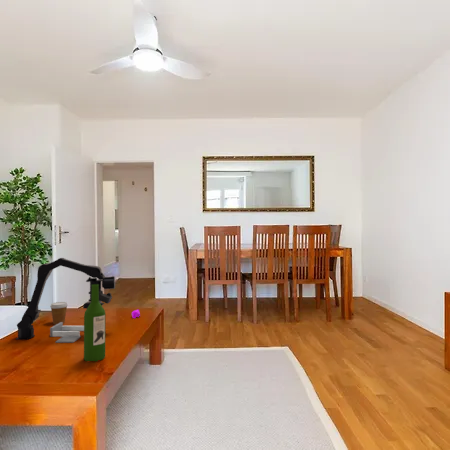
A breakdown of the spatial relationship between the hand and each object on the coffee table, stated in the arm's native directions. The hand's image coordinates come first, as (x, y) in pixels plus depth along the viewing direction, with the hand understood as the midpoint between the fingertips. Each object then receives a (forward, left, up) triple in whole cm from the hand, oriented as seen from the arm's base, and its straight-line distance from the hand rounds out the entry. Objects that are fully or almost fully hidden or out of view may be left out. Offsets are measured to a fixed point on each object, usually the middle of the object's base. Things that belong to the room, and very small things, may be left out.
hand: (95, 317), depth 188 cm
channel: (-14, 0, -8) cm, 16 cm away
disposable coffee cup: (-30, +20, -9) cm, 37 cm away
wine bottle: (+13, -36, -9) cm, 39 cm away
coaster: (-10, -11, -8) cm, 17 cm away
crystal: (+13, +34, -9) cm, 37 cm away
